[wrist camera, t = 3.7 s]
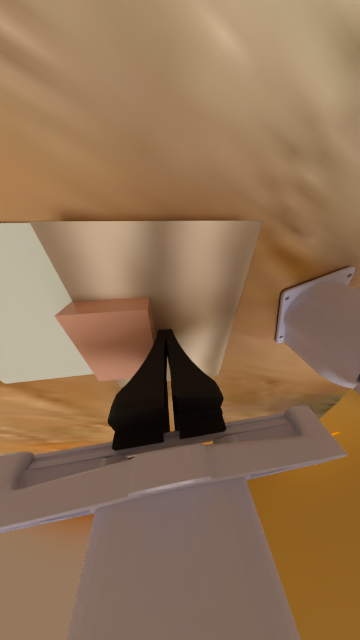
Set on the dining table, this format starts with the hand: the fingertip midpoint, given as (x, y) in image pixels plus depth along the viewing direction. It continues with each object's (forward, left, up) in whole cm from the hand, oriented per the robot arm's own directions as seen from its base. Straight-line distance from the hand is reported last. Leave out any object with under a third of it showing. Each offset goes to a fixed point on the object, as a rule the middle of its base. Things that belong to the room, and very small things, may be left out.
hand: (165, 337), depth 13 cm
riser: (0, 0, -4) cm, 4 cm away
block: (+1, +4, -1) cm, 4 cm away
